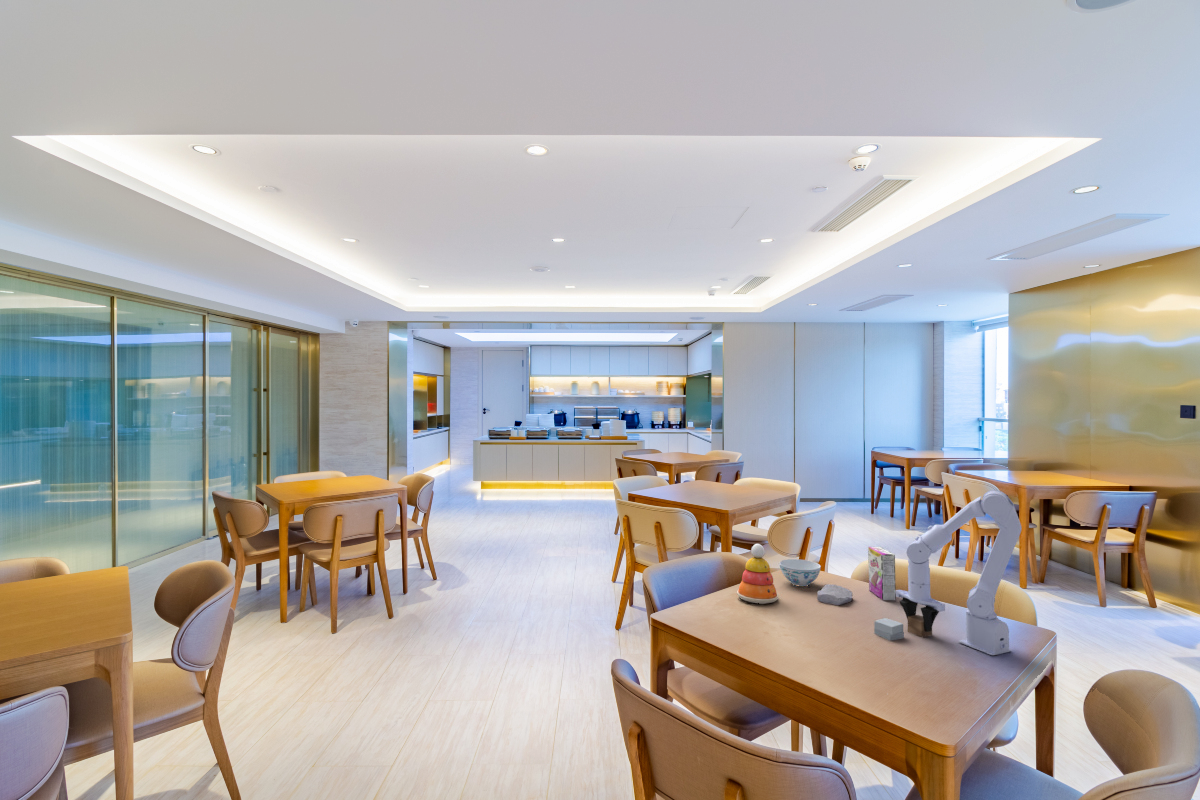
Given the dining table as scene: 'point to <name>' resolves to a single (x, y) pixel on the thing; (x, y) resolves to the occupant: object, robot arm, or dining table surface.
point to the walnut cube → (917, 626)
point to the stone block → (834, 595)
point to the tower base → (889, 635)
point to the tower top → (888, 626)
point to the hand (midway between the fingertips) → (919, 627)
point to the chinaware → (800, 571)
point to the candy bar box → (882, 573)
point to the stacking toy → (757, 579)
